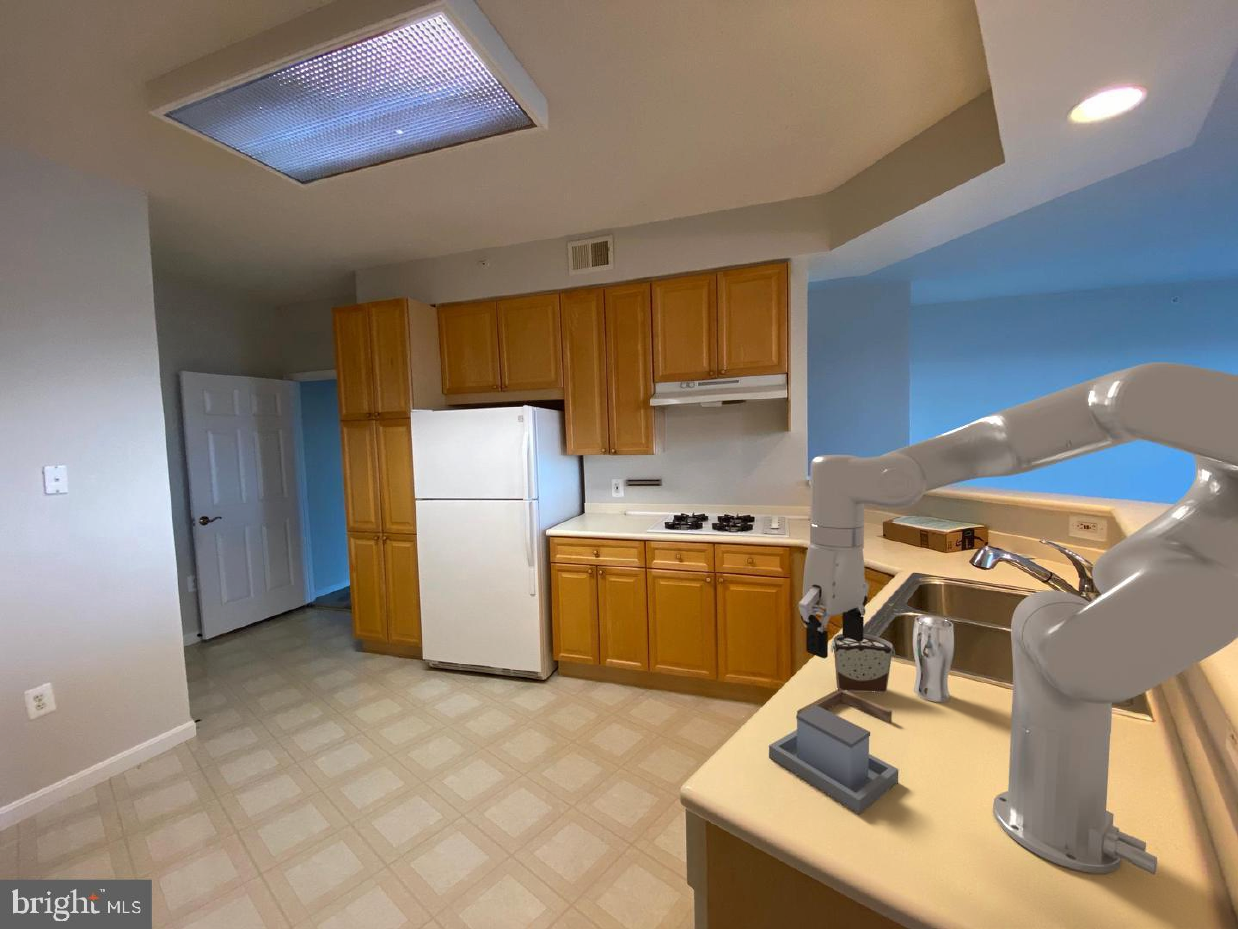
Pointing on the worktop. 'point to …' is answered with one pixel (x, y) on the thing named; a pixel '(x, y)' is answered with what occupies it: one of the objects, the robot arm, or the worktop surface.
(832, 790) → the tray
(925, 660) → the beer glass
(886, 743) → the worktop surface
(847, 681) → the food container
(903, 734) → the worktop surface
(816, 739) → the caddy
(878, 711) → the frame
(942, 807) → the worktop surface
